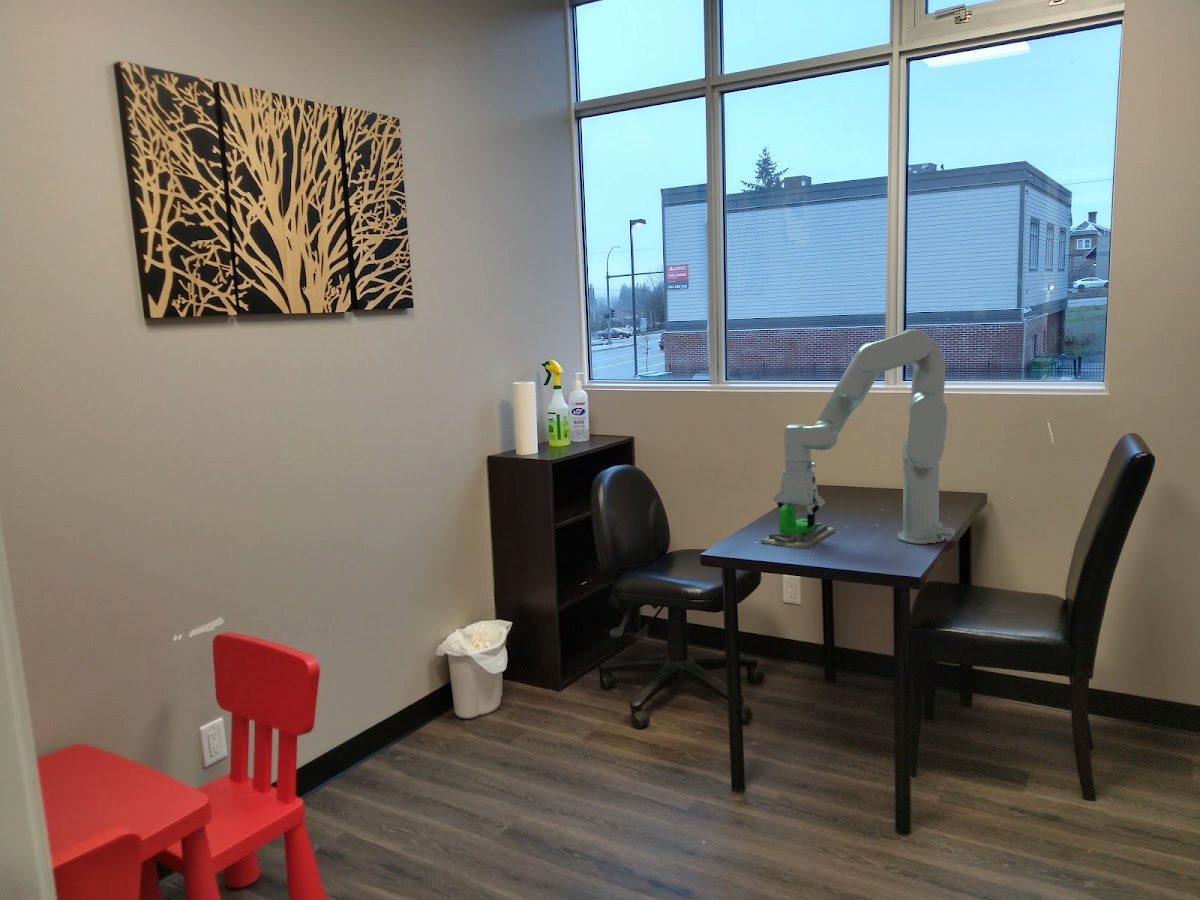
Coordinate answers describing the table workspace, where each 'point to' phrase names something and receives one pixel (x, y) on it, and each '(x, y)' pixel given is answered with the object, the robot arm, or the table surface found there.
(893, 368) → the robot arm
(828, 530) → the board
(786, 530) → the mechanical part
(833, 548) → the table surface
